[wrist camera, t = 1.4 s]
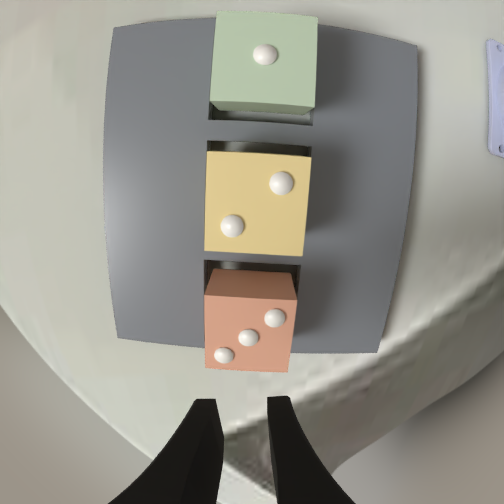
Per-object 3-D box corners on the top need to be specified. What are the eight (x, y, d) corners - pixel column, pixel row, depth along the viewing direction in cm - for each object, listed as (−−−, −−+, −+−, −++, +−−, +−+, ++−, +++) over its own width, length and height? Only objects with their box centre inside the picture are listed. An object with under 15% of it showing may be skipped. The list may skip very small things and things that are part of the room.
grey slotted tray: (407, 50, 14) (416, 45, 13) (371, 342, 20) (377, 352, 18) (121, 33, 14) (113, 27, 13) (124, 328, 20) (117, 337, 18)
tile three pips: (290, 272, 17) (297, 301, 14) (283, 337, 18) (287, 373, 15) (213, 268, 17) (203, 296, 14) (213, 333, 18) (205, 369, 15)
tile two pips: (300, 155, 15) (311, 157, 12) (294, 235, 16) (302, 257, 13) (217, 150, 15) (206, 151, 12) (214, 231, 16) (203, 251, 13)
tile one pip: (306, 40, 13) (318, 16, 10) (303, 115, 14) (314, 107, 11) (224, 35, 13) (216, 10, 10) (219, 110, 14) (209, 100, 11)
